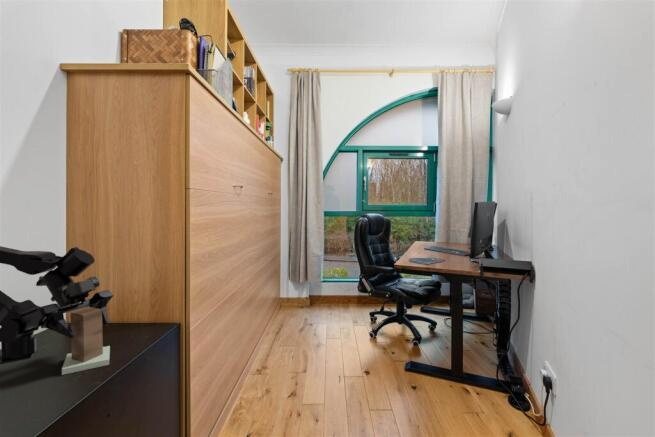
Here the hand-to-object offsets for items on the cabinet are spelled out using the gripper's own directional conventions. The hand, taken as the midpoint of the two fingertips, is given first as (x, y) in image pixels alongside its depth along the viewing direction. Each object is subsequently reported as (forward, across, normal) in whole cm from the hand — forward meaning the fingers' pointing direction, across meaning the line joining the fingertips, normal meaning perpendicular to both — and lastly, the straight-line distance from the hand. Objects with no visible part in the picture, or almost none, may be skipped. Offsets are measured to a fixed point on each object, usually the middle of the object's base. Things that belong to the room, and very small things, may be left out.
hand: (90, 330), depth 88 cm
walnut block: (+4, 0, +6) cm, 8 cm away
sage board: (+5, 0, +7) cm, 9 cm away
